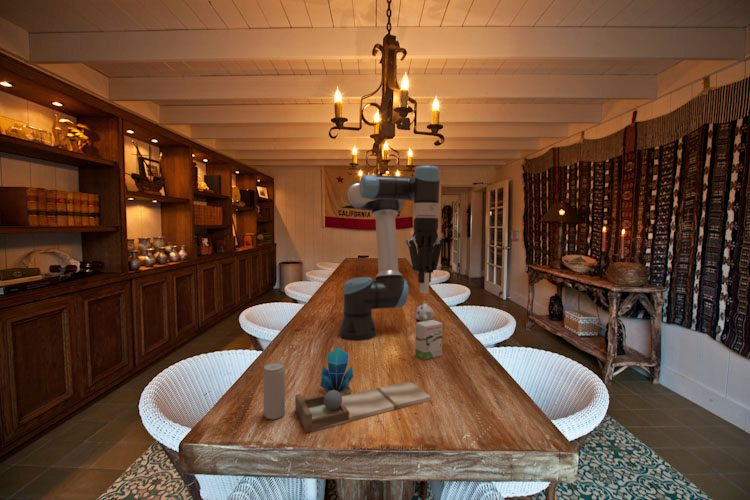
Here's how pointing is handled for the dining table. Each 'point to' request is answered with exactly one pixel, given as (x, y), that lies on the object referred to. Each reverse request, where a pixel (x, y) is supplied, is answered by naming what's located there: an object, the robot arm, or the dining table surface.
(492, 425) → the dining table surface
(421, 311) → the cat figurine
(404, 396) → the lane
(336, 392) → the ball
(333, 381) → the gemstone
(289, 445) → the dining table surface
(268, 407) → the beverage can
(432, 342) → the ink box
